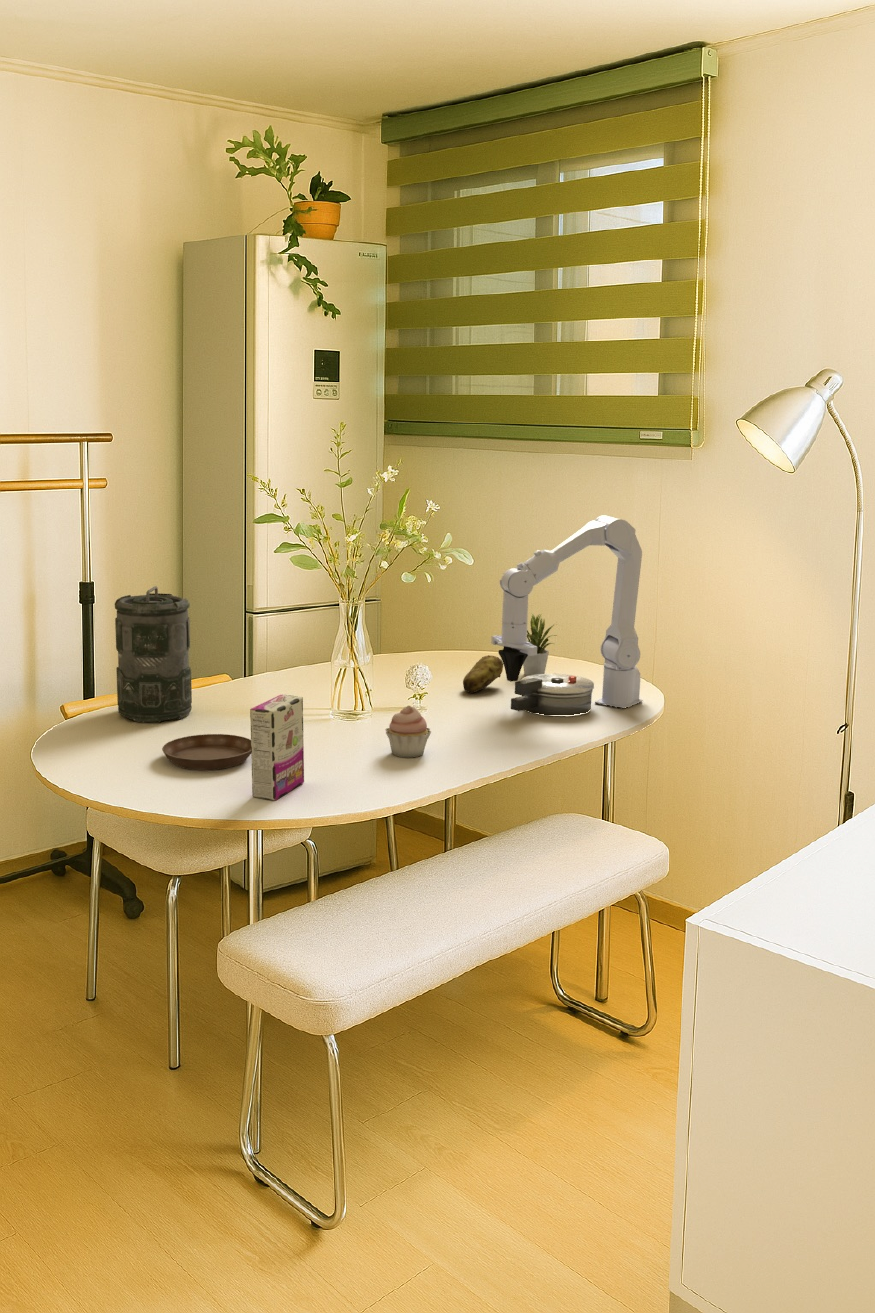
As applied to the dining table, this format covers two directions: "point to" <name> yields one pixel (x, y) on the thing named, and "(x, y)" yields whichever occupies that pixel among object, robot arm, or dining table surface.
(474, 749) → the dining table surface
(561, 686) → the lid
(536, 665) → the house plant
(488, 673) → the potato
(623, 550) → the robot arm
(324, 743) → the dining table surface
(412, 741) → the cupcake
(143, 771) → the dining table surface
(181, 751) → the plant saucer
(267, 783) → the candy bar box
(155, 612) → the canister
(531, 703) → the pot
